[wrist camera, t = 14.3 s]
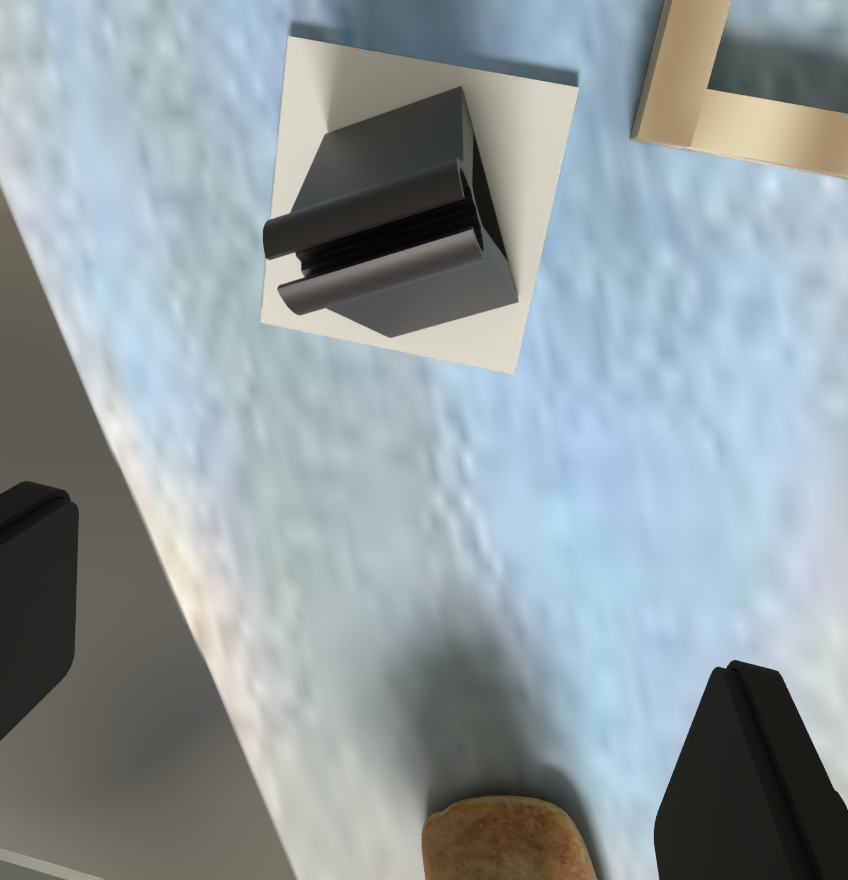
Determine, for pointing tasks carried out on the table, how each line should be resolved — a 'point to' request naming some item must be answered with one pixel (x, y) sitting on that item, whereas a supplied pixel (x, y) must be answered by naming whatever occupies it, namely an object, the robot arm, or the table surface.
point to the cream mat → (503, 156)
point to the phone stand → (396, 223)
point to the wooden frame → (727, 103)
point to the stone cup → (504, 841)
